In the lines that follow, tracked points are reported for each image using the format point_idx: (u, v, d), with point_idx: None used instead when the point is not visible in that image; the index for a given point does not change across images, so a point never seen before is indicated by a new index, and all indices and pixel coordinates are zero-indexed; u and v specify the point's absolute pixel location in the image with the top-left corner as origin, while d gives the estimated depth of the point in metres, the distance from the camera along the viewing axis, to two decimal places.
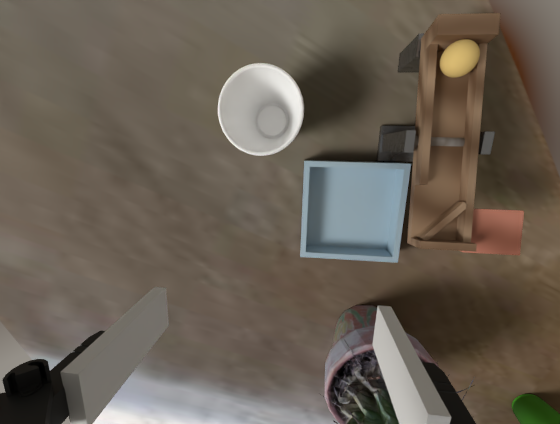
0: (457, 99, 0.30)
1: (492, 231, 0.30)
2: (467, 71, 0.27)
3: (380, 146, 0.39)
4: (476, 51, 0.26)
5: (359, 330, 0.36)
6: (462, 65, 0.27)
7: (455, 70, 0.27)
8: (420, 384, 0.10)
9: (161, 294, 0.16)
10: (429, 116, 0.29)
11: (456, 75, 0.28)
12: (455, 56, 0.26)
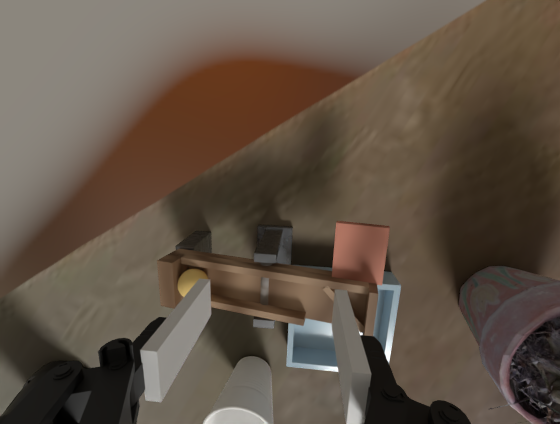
0: (227, 273, 0.31)
1: (359, 255, 0.26)
2: None
3: None
4: (185, 283, 0.29)
5: (483, 363, 0.30)
6: None
7: None
8: (353, 350, 0.12)
9: (207, 285, 0.17)
10: (240, 309, 0.30)
11: None
12: None
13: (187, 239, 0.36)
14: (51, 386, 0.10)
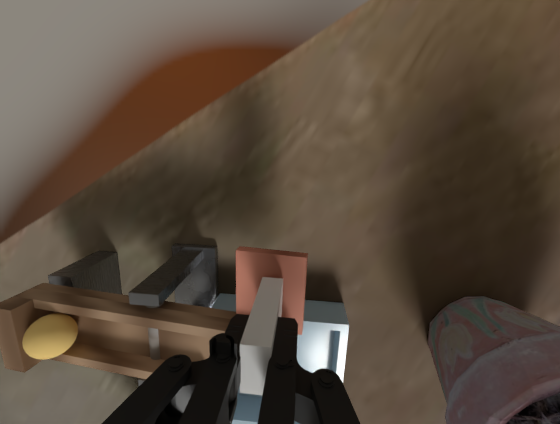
0: None
1: None
2: (59, 335, 0.21)
3: None
4: (30, 339, 0.20)
5: None
6: (49, 350, 0.21)
7: (60, 349, 0.21)
8: (263, 328, 0.13)
9: (272, 283, 0.18)
10: (119, 369, 0.22)
11: (68, 341, 0.22)
12: (41, 358, 0.21)
13: (74, 264, 0.28)
14: (165, 377, 0.10)
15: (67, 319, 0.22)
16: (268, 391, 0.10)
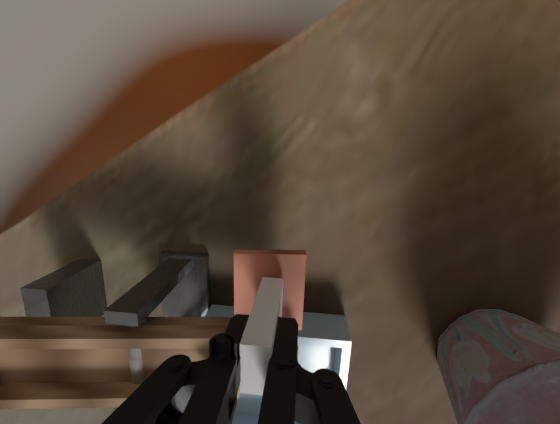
0: None
1: None
2: None
3: None
4: None
5: None
6: None
7: None
8: (264, 328, 0.13)
9: (272, 283, 0.18)
10: (95, 402, 0.19)
11: None
12: None
13: (52, 274, 0.26)
14: (165, 377, 0.10)
15: None
16: (268, 391, 0.10)
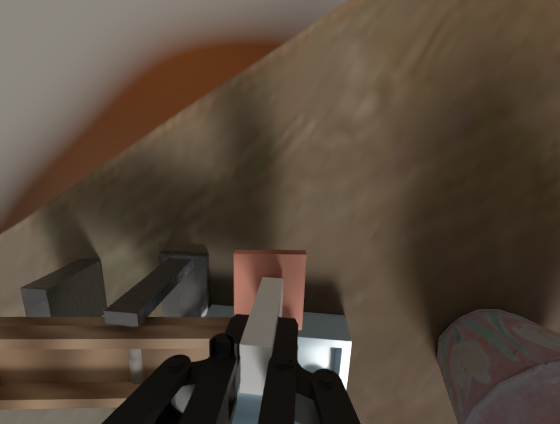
0: None
1: None
2: None
3: None
4: None
5: None
6: None
7: None
8: (264, 328, 0.13)
9: (272, 283, 0.18)
10: (95, 402, 0.19)
11: None
12: None
13: (52, 274, 0.26)
14: (164, 377, 0.10)
15: None
16: (268, 391, 0.10)
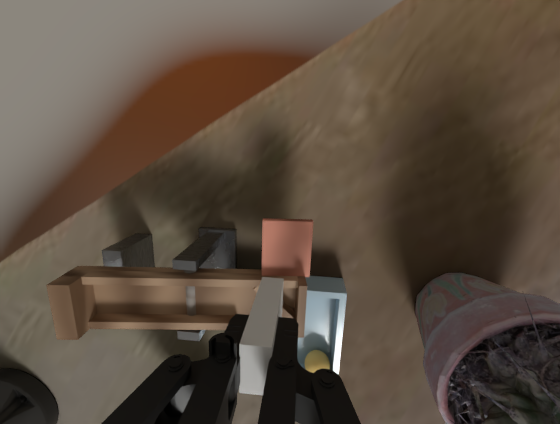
0: (144, 287, 0.28)
1: (286, 250, 0.27)
2: None
3: None
4: (322, 365, 0.35)
5: None
6: (310, 366, 0.35)
7: (307, 367, 0.36)
8: (264, 328, 0.13)
9: (271, 283, 0.18)
10: (164, 325, 0.27)
11: None
12: (310, 357, 0.36)
13: (120, 242, 0.34)
14: (164, 377, 0.10)
15: None
16: (268, 391, 0.10)
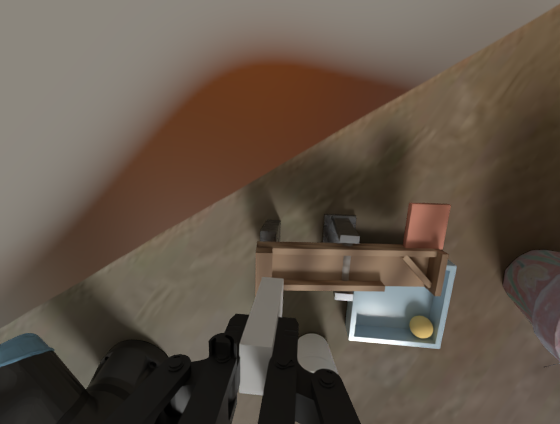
0: (311, 258, 0.35)
1: (427, 228, 0.34)
2: (422, 334, 0.42)
3: None
4: (428, 325, 0.42)
5: (535, 330, 0.35)
6: (418, 326, 0.42)
7: (414, 328, 0.43)
8: (264, 328, 0.13)
9: (272, 283, 0.18)
10: (329, 287, 0.34)
11: (415, 332, 0.43)
12: (416, 319, 0.43)
13: (265, 226, 0.41)
14: (164, 377, 0.10)
15: None
16: (268, 391, 0.10)
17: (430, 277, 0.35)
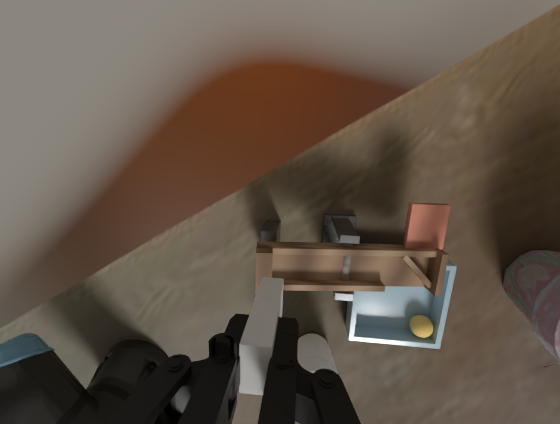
0: (312, 258, 0.35)
1: (427, 228, 0.34)
2: (422, 332, 0.42)
3: None
4: (428, 323, 0.42)
5: (535, 330, 0.35)
6: (418, 325, 0.43)
7: (414, 326, 0.43)
8: (264, 328, 0.13)
9: (271, 283, 0.18)
10: (329, 287, 0.34)
11: (415, 331, 0.43)
12: (416, 318, 0.43)
13: (265, 226, 0.41)
14: (164, 377, 0.10)
15: (424, 337, 0.43)
16: (268, 391, 0.10)
17: (430, 277, 0.35)
